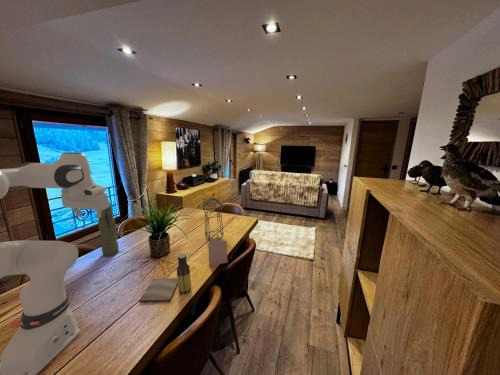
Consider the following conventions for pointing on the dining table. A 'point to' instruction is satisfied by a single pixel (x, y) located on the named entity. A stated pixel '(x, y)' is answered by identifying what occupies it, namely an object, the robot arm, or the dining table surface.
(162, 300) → the walnut board
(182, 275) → the sauce bottle
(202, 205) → the geometric lantern
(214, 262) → the greeting card
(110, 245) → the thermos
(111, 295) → the dining table surface
